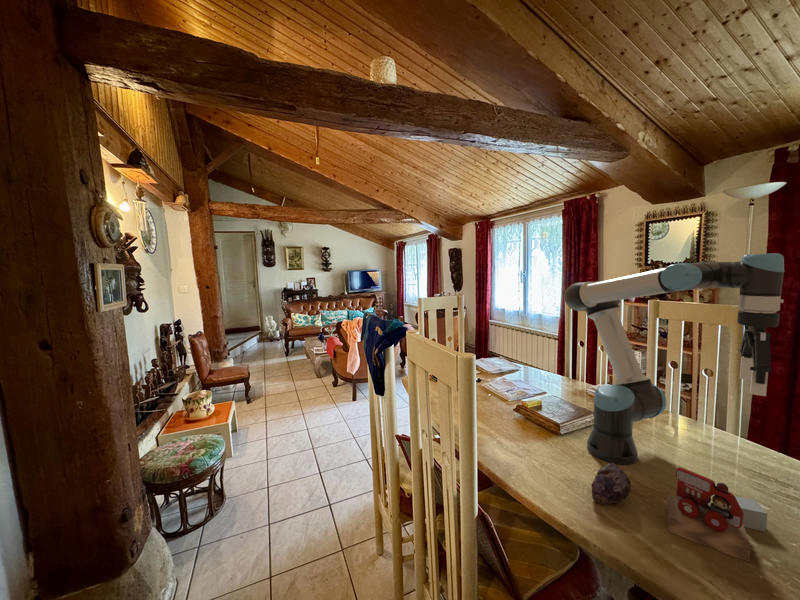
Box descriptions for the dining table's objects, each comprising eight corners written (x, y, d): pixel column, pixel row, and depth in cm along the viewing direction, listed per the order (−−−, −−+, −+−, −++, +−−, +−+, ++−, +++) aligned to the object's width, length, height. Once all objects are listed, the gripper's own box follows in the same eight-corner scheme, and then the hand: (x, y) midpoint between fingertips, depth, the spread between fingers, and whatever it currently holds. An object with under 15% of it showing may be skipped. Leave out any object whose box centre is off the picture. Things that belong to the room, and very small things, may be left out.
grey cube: (738, 525, 82) (740, 507, 81) (728, 512, 86) (729, 494, 86) (765, 531, 80) (767, 513, 79) (753, 517, 84) (755, 499, 84)
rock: (585, 501, 93) (626, 520, 86) (584, 476, 92) (625, 493, 84) (598, 477, 101) (637, 492, 93) (597, 453, 99) (636, 467, 92)
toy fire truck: (737, 541, 73) (740, 499, 72) (669, 508, 83) (671, 471, 82) (744, 527, 76) (748, 487, 75) (678, 497, 87) (681, 461, 86)
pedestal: (668, 531, 81) (669, 517, 80) (667, 507, 88) (668, 494, 88) (749, 562, 72) (750, 546, 72) (740, 532, 80) (741, 517, 79)
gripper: (795, 318, 74) (786, 406, 76) (766, 306, 94) (760, 376, 96) (748, 316, 79) (741, 398, 81) (730, 305, 98) (725, 371, 100)
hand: (751, 386), depth 88 cm, fingers open, 13 cm apart
